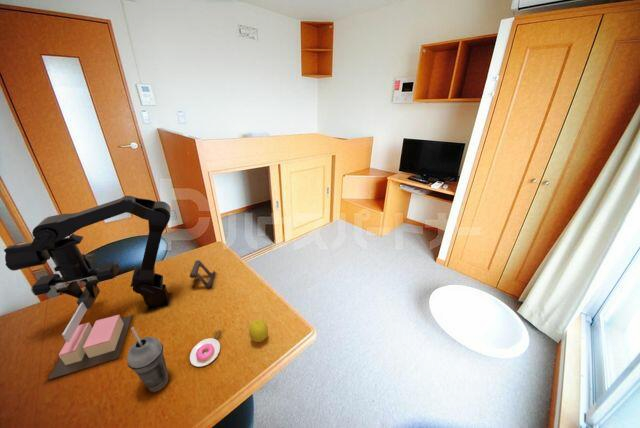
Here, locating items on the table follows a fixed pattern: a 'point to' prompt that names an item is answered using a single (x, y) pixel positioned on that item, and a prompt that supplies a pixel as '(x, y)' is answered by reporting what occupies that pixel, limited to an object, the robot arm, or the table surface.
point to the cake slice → (75, 345)
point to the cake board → (93, 361)
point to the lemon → (258, 330)
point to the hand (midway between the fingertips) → (90, 298)
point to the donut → (204, 352)
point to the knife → (79, 313)
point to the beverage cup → (148, 362)
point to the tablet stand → (195, 274)
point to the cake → (103, 336)
